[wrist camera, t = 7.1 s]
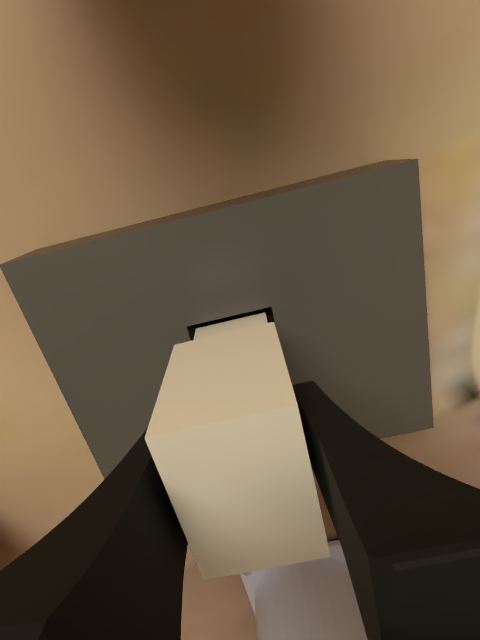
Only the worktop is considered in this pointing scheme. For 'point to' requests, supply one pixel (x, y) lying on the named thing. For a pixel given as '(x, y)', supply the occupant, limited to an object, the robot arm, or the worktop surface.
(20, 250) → the worktop surface
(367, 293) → the socket block
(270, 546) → the plug
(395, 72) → the worktop surface
